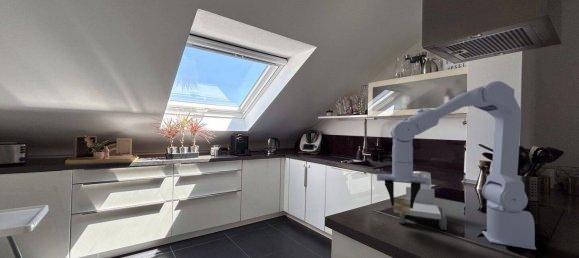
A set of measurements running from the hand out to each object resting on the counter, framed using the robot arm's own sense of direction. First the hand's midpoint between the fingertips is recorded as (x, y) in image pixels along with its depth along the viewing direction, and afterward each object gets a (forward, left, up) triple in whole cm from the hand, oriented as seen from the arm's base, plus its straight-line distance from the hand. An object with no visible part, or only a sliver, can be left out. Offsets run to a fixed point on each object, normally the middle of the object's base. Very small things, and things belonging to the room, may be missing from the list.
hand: (402, 206), depth 74 cm
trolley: (-6, -12, -7) cm, 15 cm away
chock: (0, -1, -2) cm, 2 cm away
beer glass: (-6, -24, -8) cm, 26 cm away
